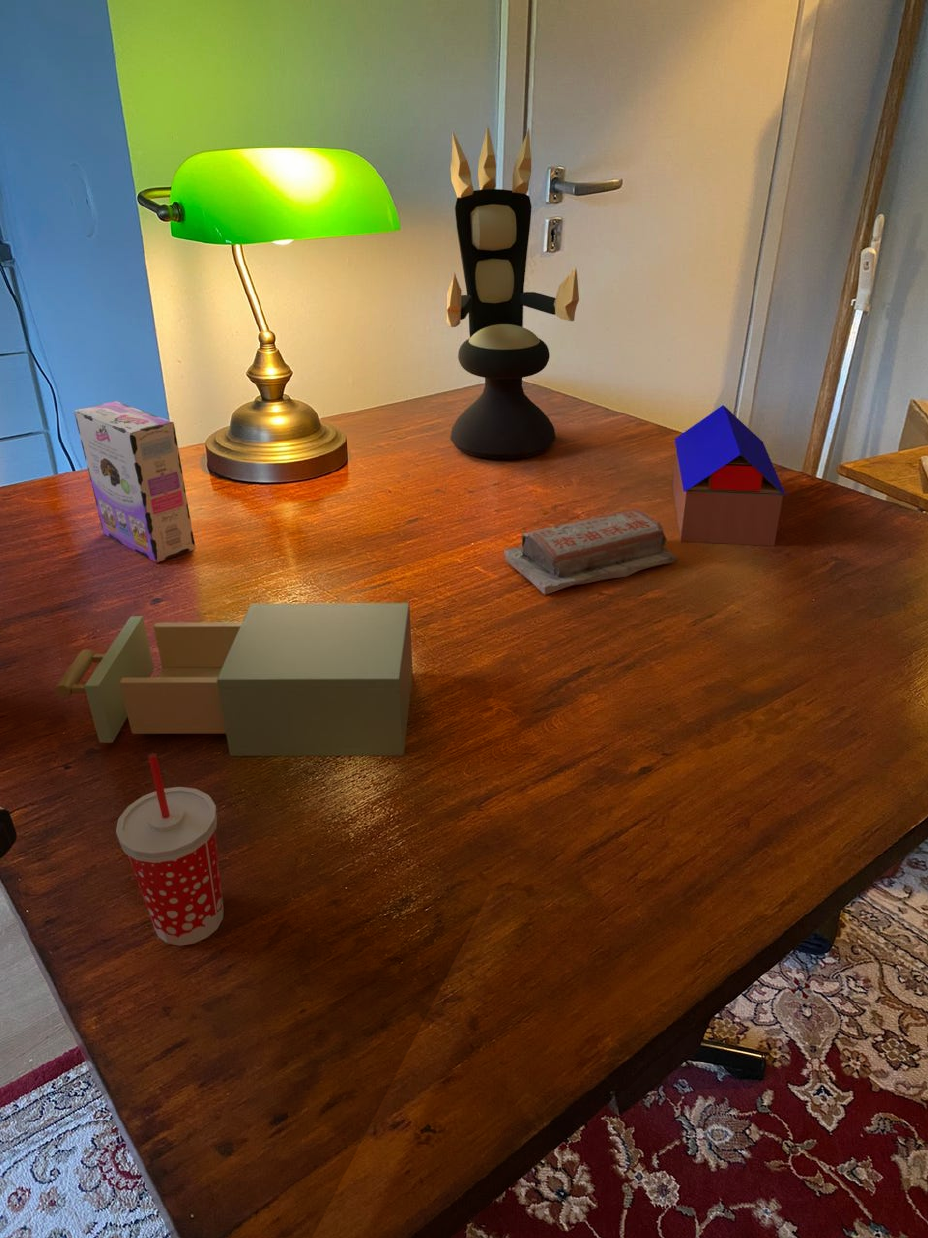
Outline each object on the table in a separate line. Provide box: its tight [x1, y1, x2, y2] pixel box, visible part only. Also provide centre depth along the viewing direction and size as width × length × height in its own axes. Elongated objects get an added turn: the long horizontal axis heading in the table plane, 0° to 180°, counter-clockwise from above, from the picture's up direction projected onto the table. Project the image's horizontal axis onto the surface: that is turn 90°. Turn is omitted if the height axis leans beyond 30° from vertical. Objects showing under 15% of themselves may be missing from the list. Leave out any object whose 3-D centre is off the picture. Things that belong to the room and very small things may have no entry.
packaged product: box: [503, 508, 677, 596], centre depth 107 cm, size 18×5×10 cm
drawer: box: [53, 615, 243, 744], centre depth 81 cm, size 18×12×6 cm, turn 89°
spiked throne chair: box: [446, 124, 580, 460], centre depth 136 cm, size 19×22×45 cm
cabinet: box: [217, 602, 414, 757], centre depth 81 cm, size 15×13×8 cm
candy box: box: [73, 400, 196, 564], centre depth 111 cm, size 14×6×16 cm, turn 46°
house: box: [671, 404, 787, 547], centre depth 118 cm, size 12×20×12 cm, turn 172°
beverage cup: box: [115, 752, 225, 947], centre depth 58 cm, size 6×6×14 cm
